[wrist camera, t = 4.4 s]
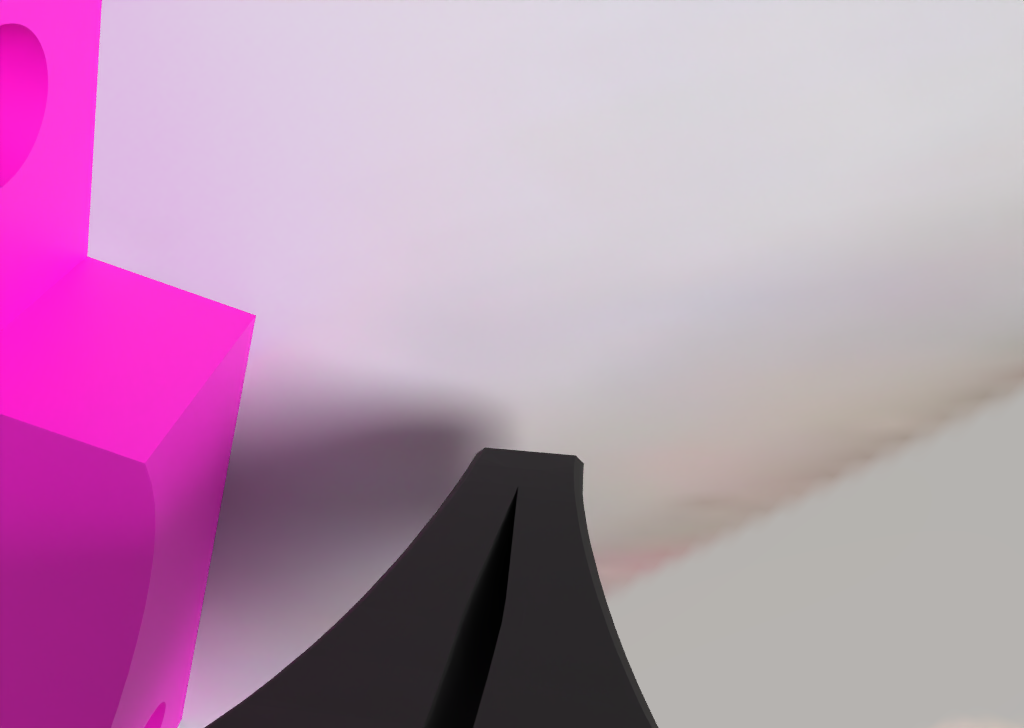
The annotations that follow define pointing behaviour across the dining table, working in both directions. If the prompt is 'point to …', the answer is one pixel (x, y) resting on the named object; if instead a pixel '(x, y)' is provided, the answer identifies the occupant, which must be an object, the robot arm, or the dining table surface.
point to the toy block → (96, 416)
